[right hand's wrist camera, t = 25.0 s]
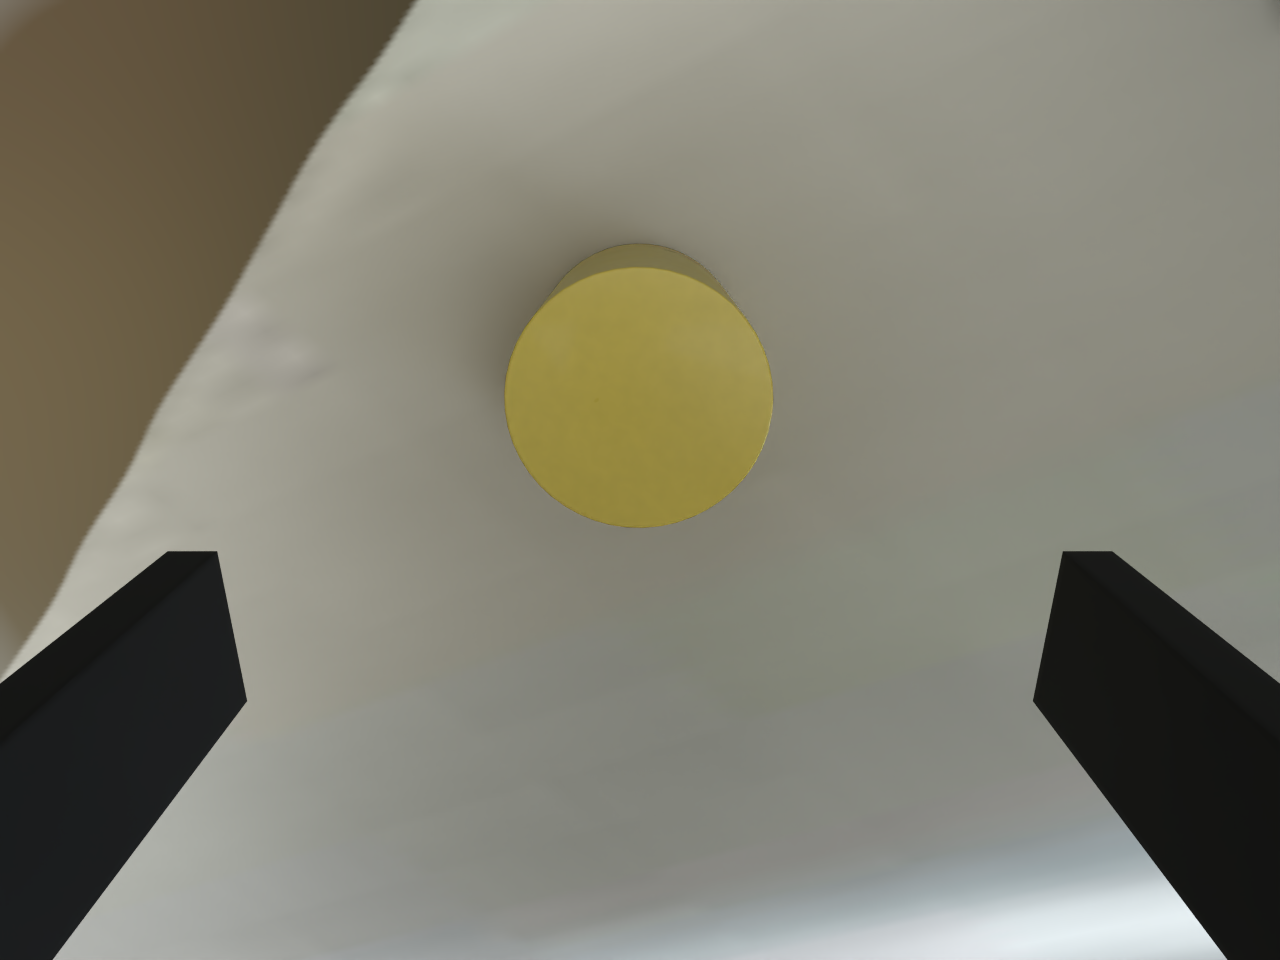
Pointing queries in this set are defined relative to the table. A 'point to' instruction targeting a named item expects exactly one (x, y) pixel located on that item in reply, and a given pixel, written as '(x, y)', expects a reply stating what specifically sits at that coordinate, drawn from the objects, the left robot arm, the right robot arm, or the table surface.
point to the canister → (638, 389)
